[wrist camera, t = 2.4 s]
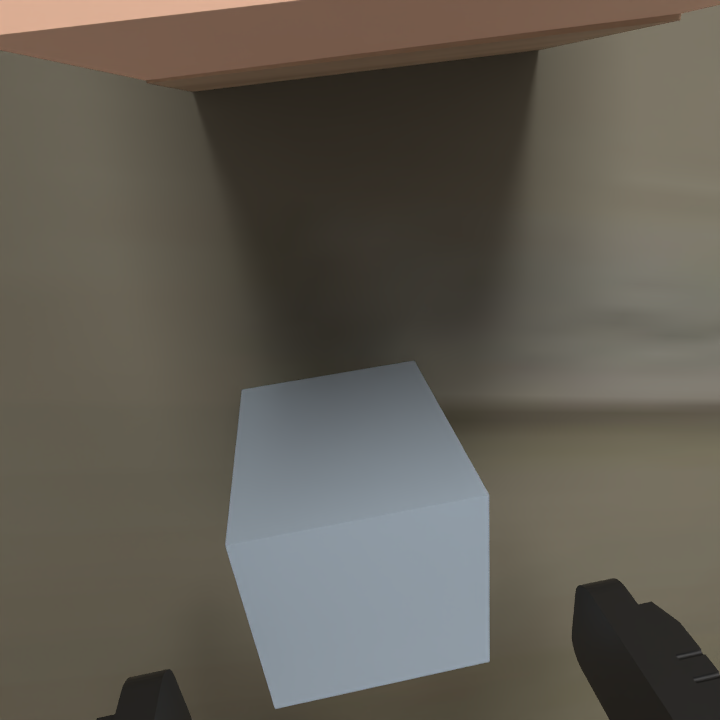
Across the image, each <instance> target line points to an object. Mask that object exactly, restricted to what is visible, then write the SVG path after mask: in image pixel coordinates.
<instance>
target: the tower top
mask: <svg viewBox="0 0 720 720" xmlns="http://www.w3.org/2000/svg"><path fill="white" fill-rule="evenodd" d="M716 5H720V0H0V50H1V51H6V52H11V53H16V54H21V55H25V56H30V57H35V58H40V59H45V60H49V61H54V62H59V63H64V64H69V65H73V66H78V67H83V68H88V69H93V70H97V71H102V72H107V73H112V74H117V75H121V76H126V77H131V78H136V79H141V80H153V79H161V78H169V77H177V76H185V75H193V74H201V73H209V72H217V71H225V70H233V69H241V68H249V67H257V66H265V65H273V64H281V63H289V62H297V61H305V60H313V59H321V58H329V57H337V56H345V55H353V54H361V53H369V52H377V51H385V50H393V49H401V48H409V47H417V46H425V45H433V44H441V43H449V42H457V41H465V40H473V39H481V38H489V37H497V36H505V35H513V34H521V33H529V32H537V31H545V30H553V29H561V28H569V27H577V26H585V25H593V24H601V23H609V22H617V21H625V20H633V19H641V18H649V17H657V16H665V15H673V14H681V13H685V12H690V11H694V10H698V9H703V8H707V7H712V6H716Z"/></svg>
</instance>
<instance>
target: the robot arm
mask: <svg viewBox="0 0 720 720" xmlns="http://www.w3.org/2000/svg"><path fill="white" fill-rule="evenodd" d="M572 642H573V647H574V651H575V654H576V657H577V660H578V662H579V665H580V667H581V669H582V671H583V673H584V674H585V676H586V678H587V680H588V682H589V683H590V685H591V687H592V689H593V691H594V692H595V694H596V696H597V698H598V700H599V701H600V703H601V705H602V707H603V709H604V710H605V712H606V714H607V716H608V718H609V720H720V675H719V671H718V670H717V669H716V667H715V666H714V665H713V664H712V662H711V661H710V660H709V658H708V657H707V656H706V655H703V654H702V652H701V648H700V647H699V646H698V645H697V643H696V642H695V641H694V640H693V638H692V637H691V636H690V635H689V633H688V632H687V631H686V630H685V628H684V627H683V626H682V625H681V623H680V622H678V621H677V620H676V619H674V618H673V617H672V616H670V615H669V614H668V613H666V612H665V611H664V610H662V609H661V608H659V607H658V606H657V605H655V604H654V603H653V602H648V603H643V604H639V605H638V604H637V602H636V601H635V600H634V598H633V597H632V596H631V594H630V593H629V591H628V590H627V589H626V587H625V586H624V585H623V584H622V583H621V582H620V581H619V580H617V579H614V578H613V579H608V580H603V581H598V582H593V583H589V584H584V585H579V586H578V587H577V588H576V593H575V604H574V615H573V626H572ZM97 720H192V719H191V716H190V713H189V710H188V708H187V706H186V703H185V701H184V698H183V696H182V693H181V691H180V689H179V686H178V684H177V681H176V679H175V676H174V674H173V672H172V671H171V670H170V669H168V670H163V671H158V672H153V673H149V674H144V675H139V676H134V677H130V678H128V679H127V680H126V681H125V683H124V685H123V688H122V691H121V695H120V698H119V702H118V706H117V710H116V713H115V715H110V716H106V717H101V718H97Z"/></svg>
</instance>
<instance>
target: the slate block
mask: <svg viewBox="0 0 720 720" xmlns="http://www.w3.org/2000/svg"><path fill="white" fill-rule="evenodd" d="M225 546H226V550H227V553H228V556H229V559H230V563H231V566H232V569H233V572H234V576H235V579H236V582H237V586H238V589H239V592H240V595H241V599H242V602H243V605H244V609H245V612H246V615H247V618H248V622H249V625H250V628H251V632H252V635H253V638H254V641H255V645H256V648H257V651H258V654H259V658H260V661H261V664H262V668H263V671H264V674H265V677H266V681H267V684H268V687H269V691H270V694H271V697H272V700H273V704H274V707H275V709H277V708H282V707H286V706H291V705H296V704H300V703H305V702H309V701H314V700H318V699H323V698H327V697H332V696H336V695H341V694H345V693H350V692H354V691H359V690H364V689H368V688H373V687H377V686H382V685H386V684H391V683H395V682H400V681H404V680H409V679H413V678H418V677H422V676H427V675H432V674H436V673H441V672H445V671H450V670H454V669H459V668H463V667H468V666H472V665H477V664H481V663H486V662H490V633H489V494H488V492H487V490H486V488H485V486H484V485H483V483H482V481H481V479H480V477H479V476H478V474H477V472H476V470H475V469H474V467H473V465H472V463H471V461H470V460H469V458H468V456H467V454H466V452H465V451H464V449H463V447H462V445H461V443H460V442H459V440H458V438H457V436H456V434H455V433H454V431H453V429H452V427H451V425H450V424H449V422H448V420H447V418H446V417H445V415H444V413H443V411H442V409H441V408H440V406H439V404H438V402H437V400H436V399H435V397H434V395H433V393H432V391H431V390H430V388H429V386H428V384H427V382H426V381H425V379H424V377H423V375H422V373H421V372H420V370H419V368H418V366H417V365H416V363H415V361H408V362H402V363H397V364H391V365H385V366H379V367H373V368H367V369H361V370H355V371H349V372H343V373H337V374H331V375H326V376H320V377H314V378H308V379H302V380H296V381H290V382H284V383H278V384H272V385H266V386H260V387H255V388H249V389H243V390H242V393H241V402H240V412H239V421H238V431H237V440H236V449H235V459H234V468H233V478H232V487H231V497H230V506H229V515H228V525H227V534H226V544H225Z"/></svg>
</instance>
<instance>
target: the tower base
mask: <svg viewBox="0 0 720 720" xmlns="http://www.w3.org/2000/svg"><path fill="white" fill-rule="evenodd" d="M680 19H681V14H673V15H665V16H657V17H649V18H641V19H633V20H625V21H617V22H609V23H601V24H593V25H585V26H577V27H569V28H561V29H553V30H545V31H537V32H529V33H521V34H513V35H505V36H497V37H489V38H481V39H473V40H465V41H457V42H449V43H441V44H433V45H425V46H417V47H409V48H401V49H393V50H385V51H377V52H369V53H361V54H353V55H345V56H337V57H329V58H321V59H313V60H305V61H297V62H289V63H281V64H273V65H265V66H257V67H249V68H241V69H233V70H225V71H217V72H209V73H201V74H193V75H185V76H177V77H169V78H161V79H153V80H146V82H147V83H148V84H154V85H159V86H164V87H170V88H175V89H181V90H186V91H191V92H195V91H203V90H211V89H219V88H228V87H236V86H244V85H253V84H261V83H269V82H277V81H286V80H294V79H302V78H311V77H319V76H327V75H336V74H344V73H352V72H360V71H369V70H377V69H385V68H394V67H402V66H410V65H419V64H427V63H435V62H443V61H452V60H460V59H468V58H477V57H485V56H493V55H501V54H510V53H518V52H526V51H535V50H541V49H546V48H551V47H555V46H560V45H565V44H570V43H574V42H579V41H584V40H589V39H593V38H598V37H603V36H607V35H612V34H617V33H622V32H626V31H631V30H636V29H641V28H645V27H650V26H655V25H660V24H664V23H669V22H674V21H679V20H680Z"/></svg>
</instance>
